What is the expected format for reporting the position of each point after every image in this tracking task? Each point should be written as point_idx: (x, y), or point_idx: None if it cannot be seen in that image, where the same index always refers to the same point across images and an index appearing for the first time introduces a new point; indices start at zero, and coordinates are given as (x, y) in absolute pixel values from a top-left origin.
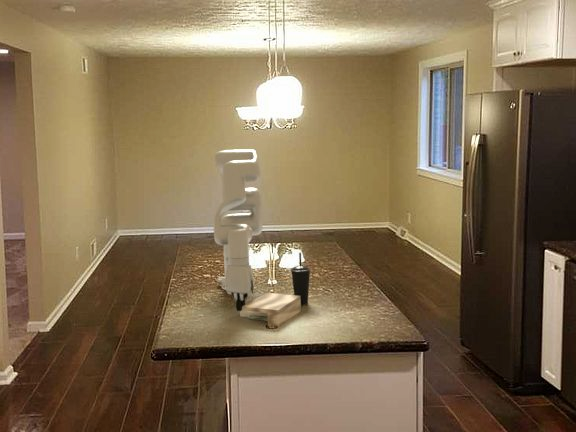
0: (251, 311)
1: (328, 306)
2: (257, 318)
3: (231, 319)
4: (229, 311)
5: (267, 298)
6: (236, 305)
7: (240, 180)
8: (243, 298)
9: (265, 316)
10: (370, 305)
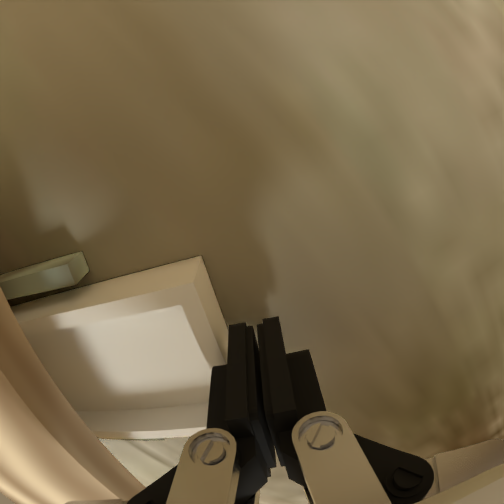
0: (194, 390)
1: None
2: (18, 270)
3: (212, 129)
4: (397, 325)
5: (51, 487)
6: (308, 364)
7: None
8: (187, 465)
9: None
10: None
